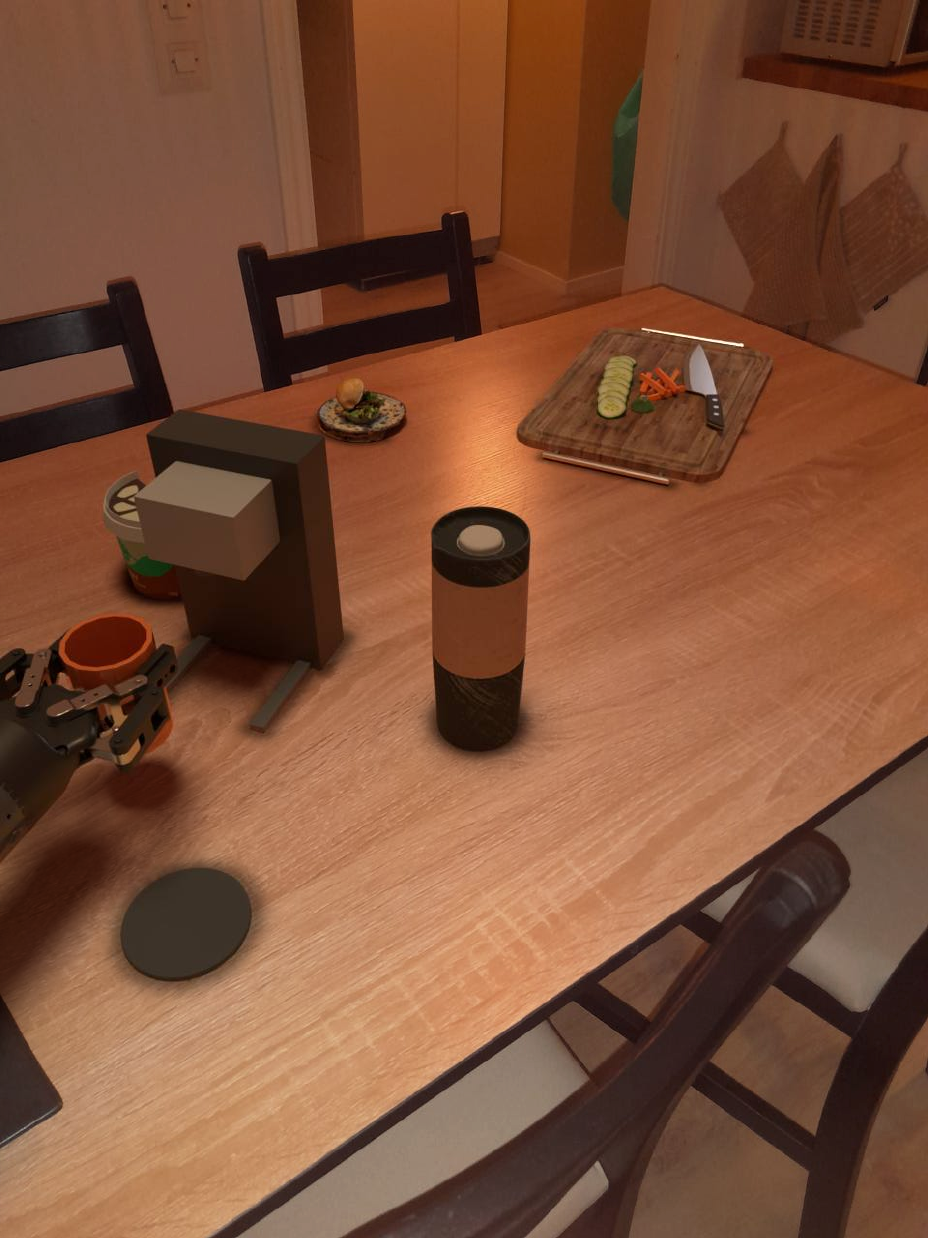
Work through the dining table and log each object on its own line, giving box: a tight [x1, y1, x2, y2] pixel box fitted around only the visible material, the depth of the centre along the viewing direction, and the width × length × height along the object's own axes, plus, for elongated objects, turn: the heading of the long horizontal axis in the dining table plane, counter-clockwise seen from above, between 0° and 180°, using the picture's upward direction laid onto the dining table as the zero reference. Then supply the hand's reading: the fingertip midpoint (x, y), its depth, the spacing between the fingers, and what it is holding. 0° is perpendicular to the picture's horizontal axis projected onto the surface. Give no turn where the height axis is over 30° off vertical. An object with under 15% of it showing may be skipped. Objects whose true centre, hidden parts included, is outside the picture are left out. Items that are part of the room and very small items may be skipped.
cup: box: [59, 612, 174, 756], centre depth 72 cm, size 6×6×9 cm
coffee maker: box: [134, 408, 345, 734], centre depth 83 cm, size 14×14×22 cm
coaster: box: [119, 867, 252, 982], centre depth 69 cm, size 9×9×1 cm
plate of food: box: [316, 371, 407, 443], centre depth 127 cm, size 12×12×8 cm
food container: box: [102, 469, 183, 601], centre depth 97 cm, size 12×6×10 cm, turn 42°
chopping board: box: [516, 327, 774, 486], centre depth 134 cm, size 45×27×3 cm, turn 156°
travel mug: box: [430, 505, 532, 752], centre depth 79 cm, size 8×8×20 cm
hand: (129, 642), depth 72 cm, fingers closed on cup, 6 cm apart
